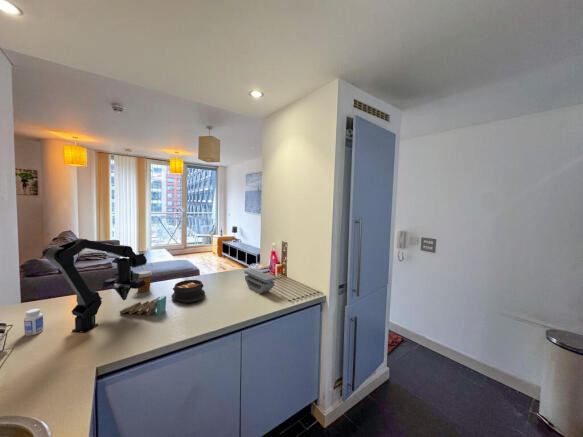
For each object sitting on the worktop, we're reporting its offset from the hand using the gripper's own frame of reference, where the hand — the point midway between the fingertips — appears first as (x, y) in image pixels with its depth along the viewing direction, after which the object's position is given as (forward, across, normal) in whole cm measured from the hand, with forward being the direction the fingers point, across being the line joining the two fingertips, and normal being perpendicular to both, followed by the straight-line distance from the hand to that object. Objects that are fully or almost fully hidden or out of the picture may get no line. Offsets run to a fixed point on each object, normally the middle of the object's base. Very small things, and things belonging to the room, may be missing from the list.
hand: (124, 299), depth 118 cm
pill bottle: (+7, +24, +21) cm, 32 cm away
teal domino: (+6, -18, -1) cm, 20 cm away
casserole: (+7, -23, -22) cm, 32 cm away
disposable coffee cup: (+7, +10, -29) cm, 32 cm away
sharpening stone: (+7, -63, -38) cm, 73 cm away
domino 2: (+6, -4, 0) cm, 7 cm away
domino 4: (+6, -14, 0) cm, 15 cm away
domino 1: (+6, 0, 0) cm, 6 cm away
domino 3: (+6, -9, 0) cm, 11 cm away
